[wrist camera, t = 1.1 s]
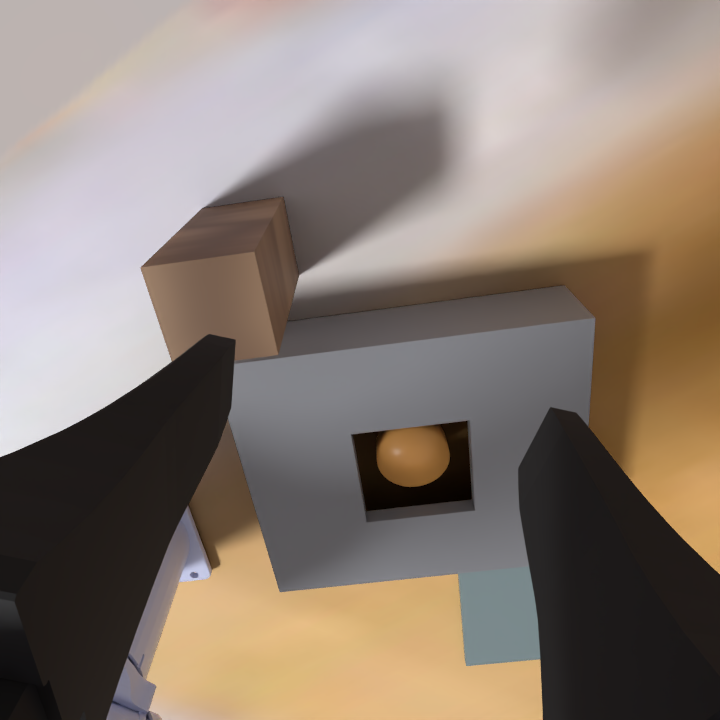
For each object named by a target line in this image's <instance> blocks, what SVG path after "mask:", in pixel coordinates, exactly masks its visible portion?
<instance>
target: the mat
mask: <svg viewBox="0 0 720 720" xmlns="http://www.w3.org/2000/svg"><path fill="white" fill-rule="evenodd" d="M458 578H459V590H460V603H461V615H462V628H463V640H464V653H465V662H466V666H472V665H483V664H494V663H504V662H515V661H526V660H536V659H540V645H539V631H538V618H537V611H536V603H535V597H534V591H533V585H532V580H531V574H530V569H529V566H527V567H518V568H508V569H498V570H489V571H479V572H469V573H460V574H458Z"/></svg>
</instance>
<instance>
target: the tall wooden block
mask: <svg viewBox="0 0 720 720" xmlns="http://www.w3.org/2000/svg"><path fill="white" fill-rule="evenodd" d="M141 271H142V274H143V277H144V280H145V283H146V286H147V289H148V292H149V295H150V298H151V301H152V304H153V306H154V309H155V312H156V315H157V318H158V321H159V324H160V327H161V330H162V333H163V336H164V339H165V342H166V345H167V348H168V351H169V354H170V357H171V360H172V361H174V360H175V359H176V358H178V357H179V356H180V355H181V354H183V353H184V352H185V351H187V350H188V349H189V348H190V347H192V346H193V345H194V344H195V343H197V342H198V341H199V340H201V339H202V338H203V337H205V336H206V335H208V334H212V335H217V336H221V337H226V338H231V339H235V340H236V345H235V360H234V361H236V360H244V359H251V358H259V357H267V356H275V355H279V351H280V347H281V343H282V339H283V335H284V331H285V328H286V324H287V320H288V316H289V312H290V308H291V304H292V301H293V297H294V293H295V289H296V285H297V281H298V277H299V273H298V268H297V263H296V258H295V253H294V248H293V243H292V238H291V233H290V228H289V223H288V218H287V212H286V207H285V202H284V197H278V198H271V199H264V200H257V201H250V202H243V203H236V204H229V205H222V206H216V207H209V208H202V209H201V210H200V211H199V212H198V213H197V214H196V215H195V216H194V217H193V218H192V219H191V220H190V221H189V222H188V223H186V224H185V225H184V226H183V227H182V228H181V229H180V230H179V231H178V232H177V233H176V234H175V235H174V236H173V237H172V238H171V239H170V240H169V241H168V242H167V243H166V244H165V245H164V246H162V247H161V248H160V249H159V250H158V251H157V252H156V253H155V254H154V255H153V256H152V257H151V258H150V259H149V260H148V261H147V262H146V263H145V264H144V265H143V266H142V267H141Z"/></svg>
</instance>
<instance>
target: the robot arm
mask: <svg viewBox="0 0 720 720" xmlns="http://www.w3.org/2000/svg"><path fill="white" fill-rule="evenodd" d="M235 345H236V340H235V339H231V338H226V337H221V336H217V335H212V334H208V335H206V336H205V337H203V338H202V339H201V340H199V341H198V342H197V343H195V344H194V345H193V346H192V347H190V348H189V349H188V350H187V351H185V352H184V353H183V354H181V355H180V356H179V357H178V358H176V359H175V360H174V361H172V362H171V363H170V364H168V365H167V366H166V367H164V368H163V369H162V370H160V371H159V372H157V373H156V374H155V375H153V376H152V377H150V378H149V379H148V380H146V381H145V382H143V383H142V384H141V385H139V386H138V387H136V388H135V389H133V390H131V391H130V392H128V393H127V394H125V395H124V396H122V397H120V398H119V399H117V400H116V401H114V402H113V403H111V404H110V405H108V406H106V407H105V408H103V409H101V410H99V411H98V412H96V413H94V414H92V415H91V416H89V417H87V418H85V419H83V420H82V421H80V422H78V423H76V424H74V425H72V426H70V427H68V428H66V429H64V430H62V431H60V432H58V433H56V434H54V435H51V436H49V437H47V438H44V439H42V440H40V441H38V442H35V443H33V444H31V445H29V446H26V447H24V448H22V449H20V450H17V451H15V452H13V453H10V454H8V455H5V456H2V457H0V720H162V718H161V717H160V716H159V715H158V714H156V713H153V712H151V711H149V708H150V705H151V702H152V698H153V695H154V692H155V689H156V685H154V684H152V683H150V682H148V681H147V680H146V678H147V675H148V672H149V669H150V666H151V663H152V660H153V657H154V654H155V651H156V648H157V645H158V643H159V640H160V637H161V634H162V631H163V628H164V625H165V622H166V619H167V616H168V613H169V610H170V607H171V604H172V601H173V598H174V595H175V592H176V589H177V586H178V583H179V582H184V581H193V580H203V579H208V578H209V577H210V575H211V572H212V569H211V566H210V563H209V561H208V558H207V555H206V552H205V550H204V547H203V544H202V542H201V539H200V536H199V534H198V531H197V528H196V525H195V523H194V520H193V517H192V515H191V512H190V509H189V507H188V504H189V502H190V500H191V498H192V496H193V494H194V492H195V490H196V488H197V486H198V484H199V482H200V480H201V479H202V477H203V475H204V473H205V471H206V469H207V467H208V465H209V463H210V461H211V459H212V457H213V455H214V453H215V450H216V448H217V446H218V444H219V441H220V438H221V436H222V433H223V430H224V427H225V425H226V422H227V419H228V416H229V413H230V410H231V405H232V390H233V375H234V360H235ZM518 493H519V510H520V516H521V523H522V529H523V534H524V540H525V546H526V552H527V557H528V563H529V569H530V574H531V580H532V585H533V591H534V597H535V603H536V611H537V618H538V631H539V645H540V660H541V681H542V704H543V720H720V574H719V573H718V572H717V571H715V570H714V569H713V568H712V567H711V566H710V565H709V564H708V563H707V562H706V561H705V560H704V559H703V558H702V557H701V556H700V555H699V554H698V553H697V552H696V551H695V550H694V549H693V548H692V547H691V546H689V545H688V544H687V543H686V542H685V541H684V540H683V539H682V538H681V537H680V535H679V534H678V533H677V532H676V531H675V530H674V529H673V528H672V527H671V526H670V525H669V524H668V523H667V522H666V521H665V519H664V518H663V517H662V516H661V515H660V514H659V513H658V512H657V511H656V509H655V508H654V507H653V506H652V505H651V504H650V503H649V502H648V500H647V499H646V498H645V497H644V496H643V495H642V493H641V492H640V491H639V490H638V489H637V487H636V486H635V485H634V484H633V483H632V481H631V480H630V479H629V478H628V476H627V475H626V474H625V473H624V472H623V470H622V469H621V468H620V467H619V465H618V464H617V463H616V461H615V460H614V459H613V458H612V456H611V455H610V454H609V453H608V451H607V450H606V449H605V447H604V446H603V445H602V444H601V442H600V441H599V440H598V438H597V437H596V436H595V435H594V433H593V432H592V431H591V430H590V428H589V427H588V426H587V425H586V423H585V422H584V421H583V420H582V418H581V417H580V416H579V415H578V414H577V413H576V412H571V411H566V410H562V409H557V408H552V407H550V408H549V410H548V412H547V414H546V416H545V418H544V420H543V422H542V424H541V425H540V427H539V429H538V431H537V433H536V435H535V437H534V439H533V441H532V443H531V444H530V446H529V448H528V450H527V452H526V454H525V456H524V458H523V460H522V462H521V463H520V465H519V467H518ZM194 572H196V573H194Z"/></svg>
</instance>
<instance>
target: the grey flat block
mask: <svg viewBox="0 0 720 720" xmlns="http://www.w3.org/2000/svg"><path fill="white" fill-rule="evenodd" d="M594 333H595V317H594V316H593V315H592V314H591V313H590V312H589V310H588V309H587V308H586V307H585V306H584V305H583V304H582V303H581V302H580V301H579V300H578V299H577V298H576V297H575V296H574V295H573V294H572V293H571V291H570V290H569V289H568V288H567V287H566V286H565V285H563V286H555V287H547V288H540V289H532V290H525V291H517V292H509V293H502V294H494V295H486V296H479V297H471V298H464V299H456V300H448V301H441V302H433V303H425V304H418V305H410V306H403V307H395V308H387V309H380V310H372V311H364V312H357V313H349V314H342V315H334V316H326V317H319V318H311V319H304V320H296V321H288V322H287V324H286V328H285V331H284V335H283V339H282V343H281V347H280V351H279V355H275V356H267V357H259V358H251V359H244V360H236V361H234V375H233V390H232V405H231V410H230V413H229V416H228V420H229V424H230V427H231V430H232V434H233V437H234V440H235V444H236V447H237V450H238V454H239V457H240V460H241V464H242V467H243V470H244V474H245V477H246V481H247V484H248V487H249V491H250V494H251V497H252V501H253V504H254V507H255V511H256V514H257V517H258V521H259V524H260V527H261V531H262V534H263V537H264V541H265V544H266V548H267V551H268V554H269V558H270V561H271V564H272V568H273V571H274V574H275V578H276V581H277V584H278V588H279V591H280V592H286V591H295V590H305V589H315V588H324V587H334V586H344V585H353V584H363V583H373V582H382V581H392V580H402V579H411V578H421V577H431V576H440V575H450V574H460V573H469V572H479V571H489V570H498V569H508V568H518V567H527V566H529V563H528V557H527V552H526V546H525V540H524V534H523V529H522V523H521V516H520V510H519V493H518V467H519V465H520V463H521V462H522V460H523V458H524V456H525V454H526V452H527V450H528V448H529V446H530V444H531V443H532V441H533V439H534V437H535V435H536V433H537V431H538V429H539V427H540V425H541V424H542V422H543V420H544V418H545V416H546V414H547V412H548V410H549V408H550V407H552V408H557V409H562V410H566V411H571V412H576V413H577V414H578V415H579V416H580V417H581V418H582V420H583V421H584V422H585V423H586V425H587V426H588V427H589V411H590V396H591V380H592V364H593V349H594ZM460 421H468V438H469V455H470V472H471V489H472V500H463V501H454V502H445V503H436V504H427V505H418V506H409V507H400V508H390V509H381V510H372V511H366V507H365V501H364V495H363V489H362V484H361V478H360V472H359V467H358V461H357V455H356V450H355V444H354V438H353V434H359V433H368V432H376V431H385V430H393V429H401V428H410V427H418V426H427V425H435V424H444V423H452V422H460Z"/></svg>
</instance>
